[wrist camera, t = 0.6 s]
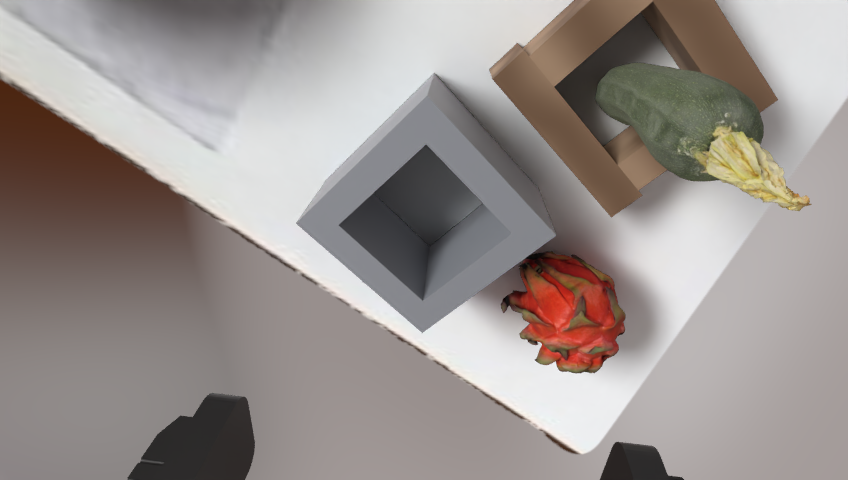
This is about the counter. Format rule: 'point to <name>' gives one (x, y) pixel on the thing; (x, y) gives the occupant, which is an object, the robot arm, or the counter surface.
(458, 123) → the holder
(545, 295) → the dragon fruit
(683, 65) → the board
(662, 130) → the vegetable
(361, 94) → the counter surface
